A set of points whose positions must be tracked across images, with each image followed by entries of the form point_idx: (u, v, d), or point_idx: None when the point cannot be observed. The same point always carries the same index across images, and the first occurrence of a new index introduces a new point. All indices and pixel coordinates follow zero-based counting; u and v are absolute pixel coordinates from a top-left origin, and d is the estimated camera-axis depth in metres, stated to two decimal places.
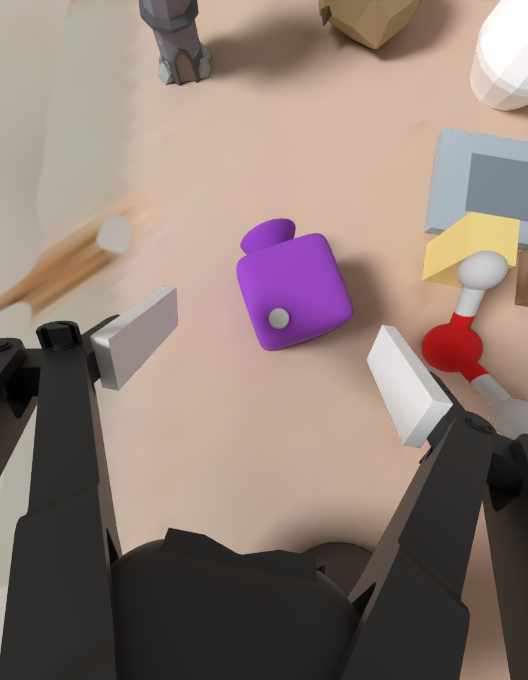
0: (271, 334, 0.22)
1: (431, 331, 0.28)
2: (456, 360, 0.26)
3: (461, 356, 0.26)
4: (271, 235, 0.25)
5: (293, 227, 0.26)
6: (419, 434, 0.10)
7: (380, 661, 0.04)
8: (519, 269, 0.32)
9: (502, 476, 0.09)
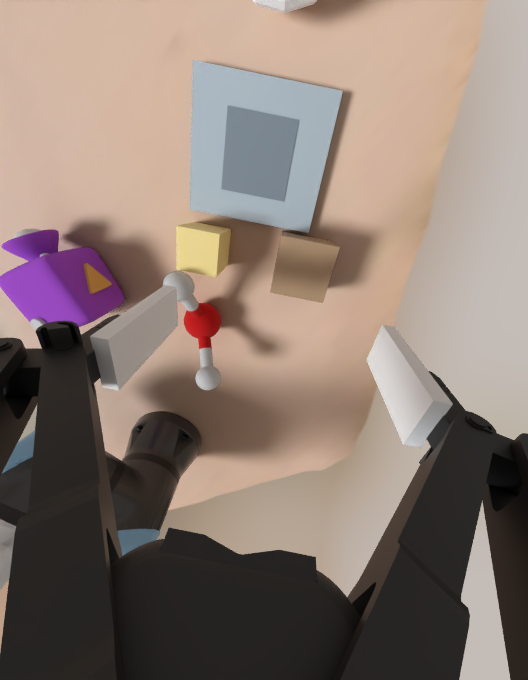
0: None
1: None
2: (193, 335, 0.37)
3: (193, 334, 0.37)
4: (19, 251, 0.31)
5: (40, 236, 0.31)
6: (419, 434, 0.10)
7: (380, 661, 0.04)
8: None
9: (502, 476, 0.09)
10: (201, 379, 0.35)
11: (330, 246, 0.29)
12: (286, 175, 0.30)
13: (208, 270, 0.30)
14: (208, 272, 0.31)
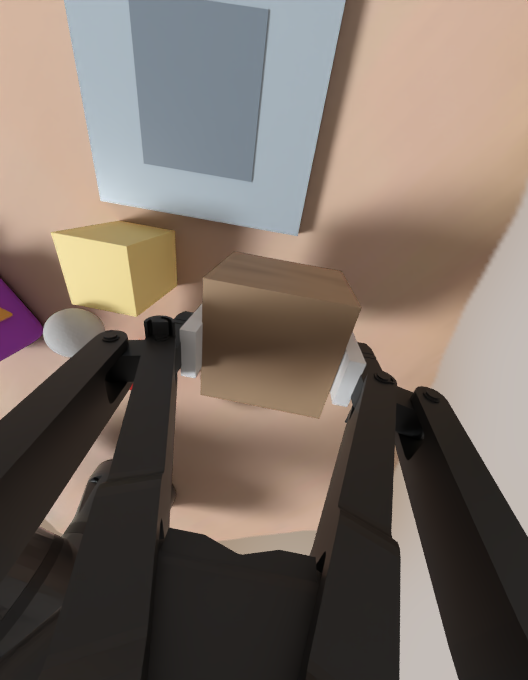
0: None
1: None
2: None
3: None
4: None
5: None
6: (344, 393, 0.12)
7: (380, 661, 0.04)
8: None
9: (402, 422, 0.10)
10: None
11: (335, 305, 0.11)
12: (252, 132, 0.16)
13: (122, 306, 0.18)
14: (122, 309, 0.18)
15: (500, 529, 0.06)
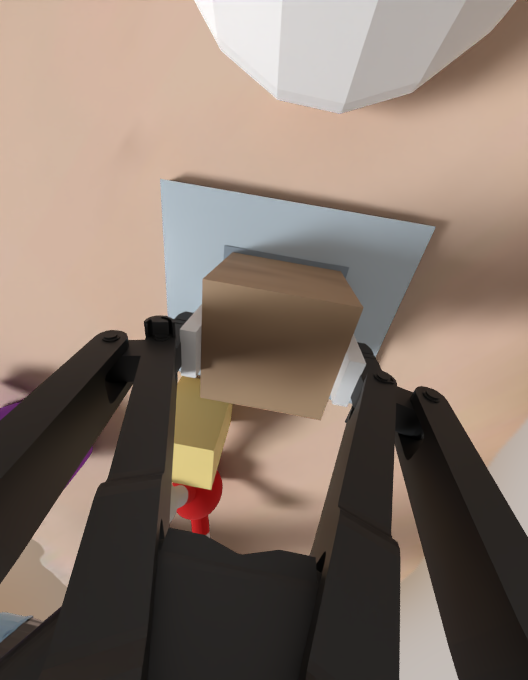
0: None
1: None
2: None
3: (184, 517, 0.26)
4: None
5: None
6: (344, 393, 0.12)
7: (380, 661, 0.04)
8: None
9: (402, 422, 0.10)
10: None
11: (337, 305, 0.11)
12: None
13: (198, 483, 0.19)
14: (198, 484, 0.19)
15: (500, 529, 0.06)
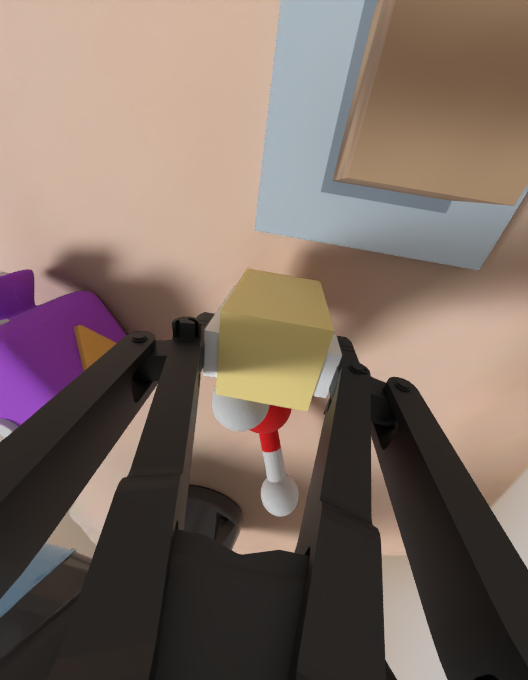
0: None
1: None
2: None
3: (253, 431, 0.23)
4: None
5: None
6: (322, 385, 0.12)
7: (380, 661, 0.04)
8: (358, 75, 0.13)
9: (375, 411, 0.11)
10: (273, 508, 0.22)
11: None
12: None
13: (290, 399, 0.13)
14: (290, 403, 0.13)
15: (471, 511, 0.06)
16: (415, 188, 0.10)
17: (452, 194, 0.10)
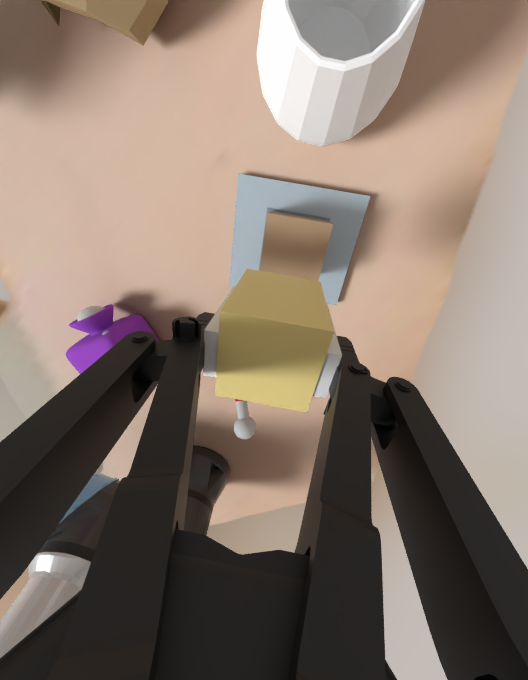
0: None
1: None
2: None
3: None
4: (84, 328, 0.35)
5: (101, 315, 0.36)
6: (322, 385, 0.12)
7: (380, 661, 0.04)
8: None
9: (375, 411, 0.11)
10: (239, 431, 0.39)
11: (322, 223, 0.26)
12: None
13: (290, 400, 0.13)
14: (289, 403, 0.13)
15: (470, 511, 0.06)
16: None
17: None
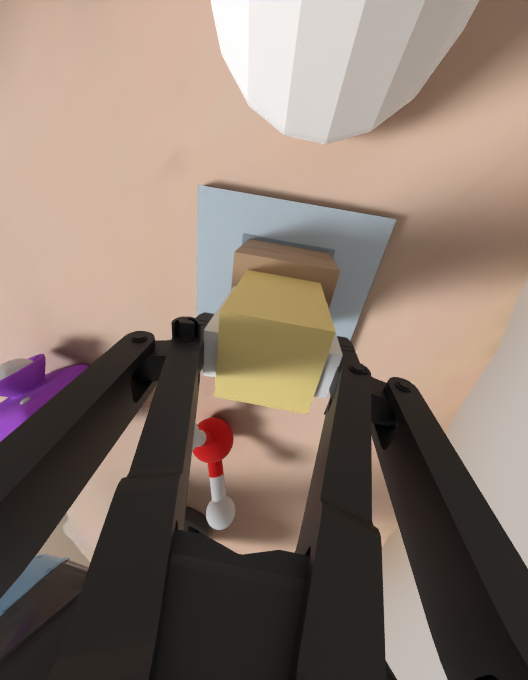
0: None
1: None
2: None
3: None
4: None
5: (20, 376, 0.26)
6: (323, 385, 0.12)
7: (380, 661, 0.04)
8: None
9: (375, 412, 0.11)
10: (212, 522, 0.30)
11: (323, 269, 0.16)
12: None
13: (290, 402, 0.13)
14: (290, 405, 0.13)
15: (471, 511, 0.06)
16: None
17: None
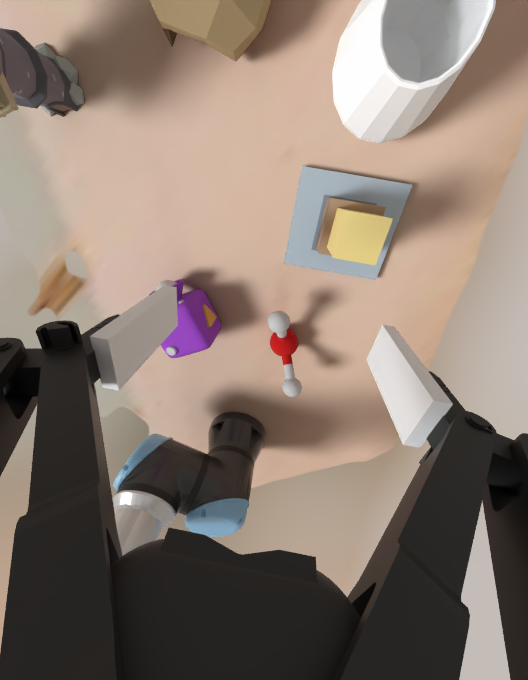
0: (170, 355, 0.45)
1: (273, 334, 0.48)
2: (278, 354, 0.48)
3: (279, 353, 0.47)
4: None
5: (177, 287, 0.42)
6: (419, 434, 0.10)
7: (380, 661, 0.04)
8: (323, 215, 0.38)
9: (502, 476, 0.09)
10: (289, 389, 0.46)
11: (377, 206, 0.32)
12: None
13: (368, 258, 0.29)
14: (368, 260, 0.29)
15: None
16: None
17: None
